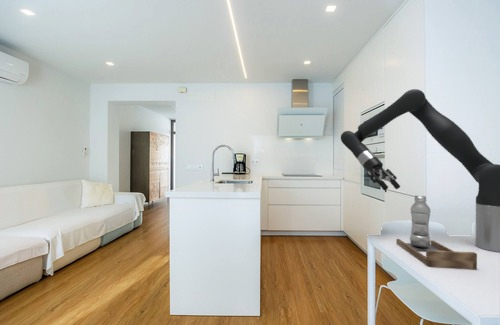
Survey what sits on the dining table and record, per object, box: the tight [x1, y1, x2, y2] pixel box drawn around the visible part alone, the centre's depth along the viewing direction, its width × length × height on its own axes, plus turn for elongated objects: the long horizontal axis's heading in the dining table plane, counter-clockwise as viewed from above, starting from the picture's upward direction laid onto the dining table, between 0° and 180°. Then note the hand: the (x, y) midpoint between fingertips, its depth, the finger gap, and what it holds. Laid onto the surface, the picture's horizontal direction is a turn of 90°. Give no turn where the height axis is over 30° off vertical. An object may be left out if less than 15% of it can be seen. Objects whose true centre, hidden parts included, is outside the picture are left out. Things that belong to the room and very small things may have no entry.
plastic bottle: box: [409, 195, 431, 248], centre depth 94 cm, size 6×7×20 cm
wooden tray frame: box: [396, 238, 478, 270], centre depth 87 cm, size 14×22×5 cm, turn 172°
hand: (392, 188), depth 104 cm, fingers open, 8 cm apart
